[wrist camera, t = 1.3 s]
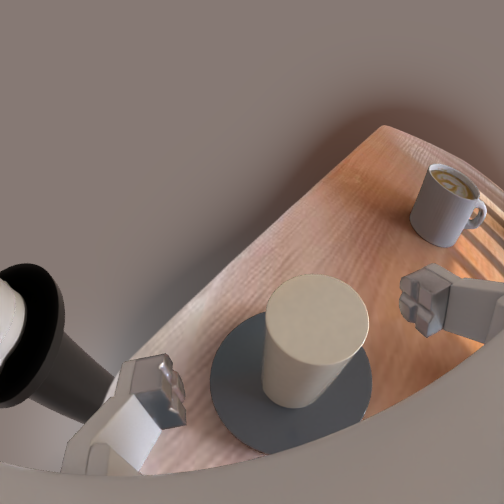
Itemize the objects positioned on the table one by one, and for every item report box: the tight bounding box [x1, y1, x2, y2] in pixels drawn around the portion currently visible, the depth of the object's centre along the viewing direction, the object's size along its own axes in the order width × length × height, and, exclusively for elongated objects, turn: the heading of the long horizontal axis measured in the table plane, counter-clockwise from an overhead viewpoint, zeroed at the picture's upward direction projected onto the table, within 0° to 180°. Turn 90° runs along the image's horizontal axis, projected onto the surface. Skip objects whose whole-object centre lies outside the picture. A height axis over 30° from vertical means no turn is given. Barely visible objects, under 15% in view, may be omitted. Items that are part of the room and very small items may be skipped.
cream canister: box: [261, 274, 369, 408], centre depth 21 cm, size 6×6×12 cm
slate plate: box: [210, 312, 372, 455], centre depth 26 cm, size 16×16×2 cm
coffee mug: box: [410, 164, 487, 247], centre depth 38 cm, size 13×10×10 cm
